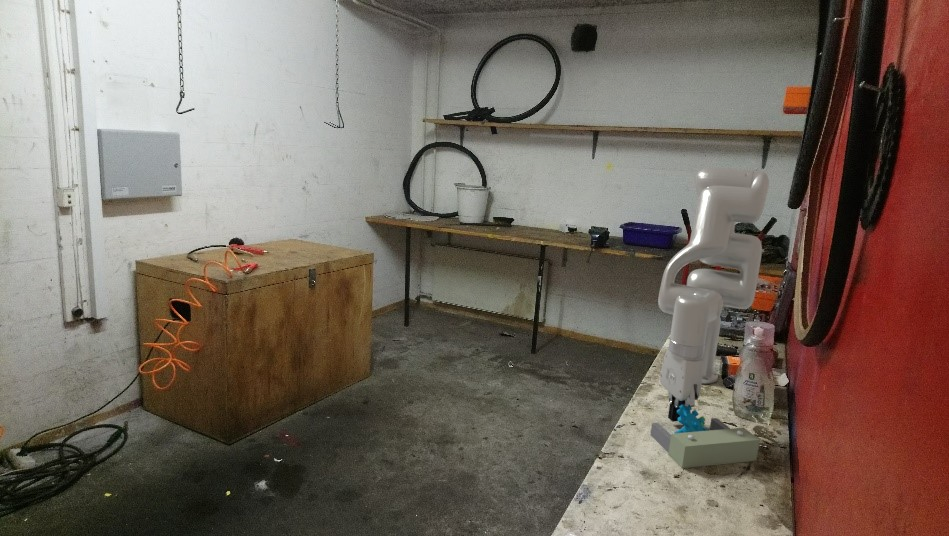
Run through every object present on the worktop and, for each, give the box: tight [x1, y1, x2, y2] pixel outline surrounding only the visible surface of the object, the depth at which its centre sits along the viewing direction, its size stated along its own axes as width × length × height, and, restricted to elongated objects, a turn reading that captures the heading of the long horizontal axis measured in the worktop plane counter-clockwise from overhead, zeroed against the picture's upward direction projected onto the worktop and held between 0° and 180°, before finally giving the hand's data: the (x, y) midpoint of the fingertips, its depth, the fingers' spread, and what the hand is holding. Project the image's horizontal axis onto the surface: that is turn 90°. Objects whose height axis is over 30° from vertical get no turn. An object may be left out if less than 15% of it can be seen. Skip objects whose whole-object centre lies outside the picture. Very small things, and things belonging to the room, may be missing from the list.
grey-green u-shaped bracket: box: [650, 417, 761, 469], centre depth 121 cm, size 13×18×6 cm
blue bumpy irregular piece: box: [673, 405, 709, 434], centre depth 125 cm, size 11×6×10 cm
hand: (675, 419), depth 131 cm, fingers closed
